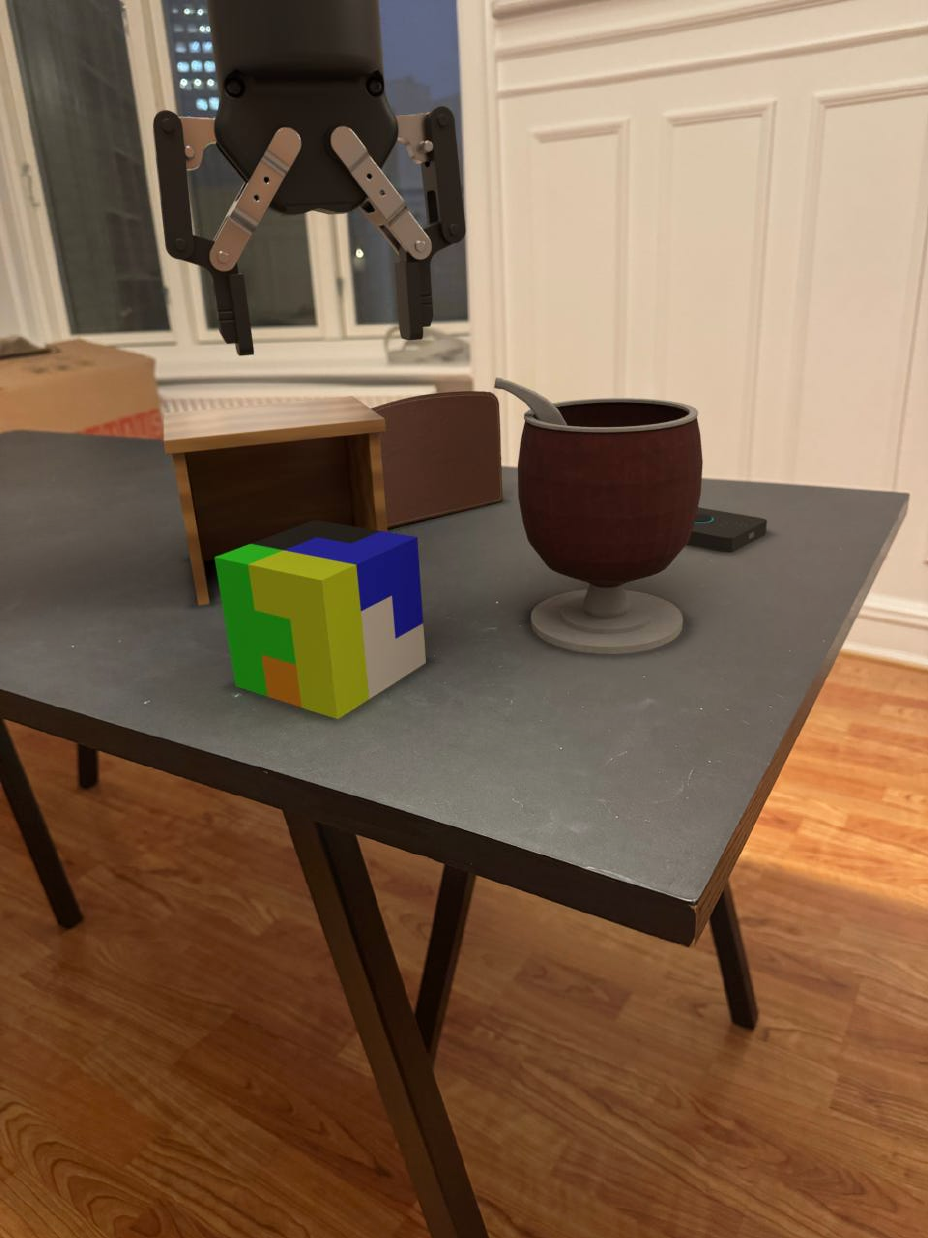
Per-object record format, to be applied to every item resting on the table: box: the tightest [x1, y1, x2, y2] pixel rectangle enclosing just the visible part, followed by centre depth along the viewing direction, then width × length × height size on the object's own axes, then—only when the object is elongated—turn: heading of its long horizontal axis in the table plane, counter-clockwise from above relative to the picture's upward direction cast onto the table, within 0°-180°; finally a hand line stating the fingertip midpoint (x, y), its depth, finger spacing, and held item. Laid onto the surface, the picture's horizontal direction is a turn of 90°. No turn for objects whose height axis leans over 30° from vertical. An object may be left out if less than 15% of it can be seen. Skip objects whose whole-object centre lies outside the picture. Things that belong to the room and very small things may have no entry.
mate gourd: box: [493, 376, 704, 655], centre depth 69 cm, size 16×14×20 cm
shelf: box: [162, 395, 388, 606], centre depth 86 cm, size 15×19×15 cm
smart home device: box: [686, 506, 768, 554], centre depth 96 cm, size 8×2×20 cm
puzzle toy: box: [214, 520, 427, 720], centre depth 64 cm, size 10×10×10 cm
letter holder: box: [370, 390, 504, 530], centre depth 104 cm, size 10×20×14 cm, turn 126°
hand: (330, 346), depth 45 cm, fingers open, 8 cm apart
